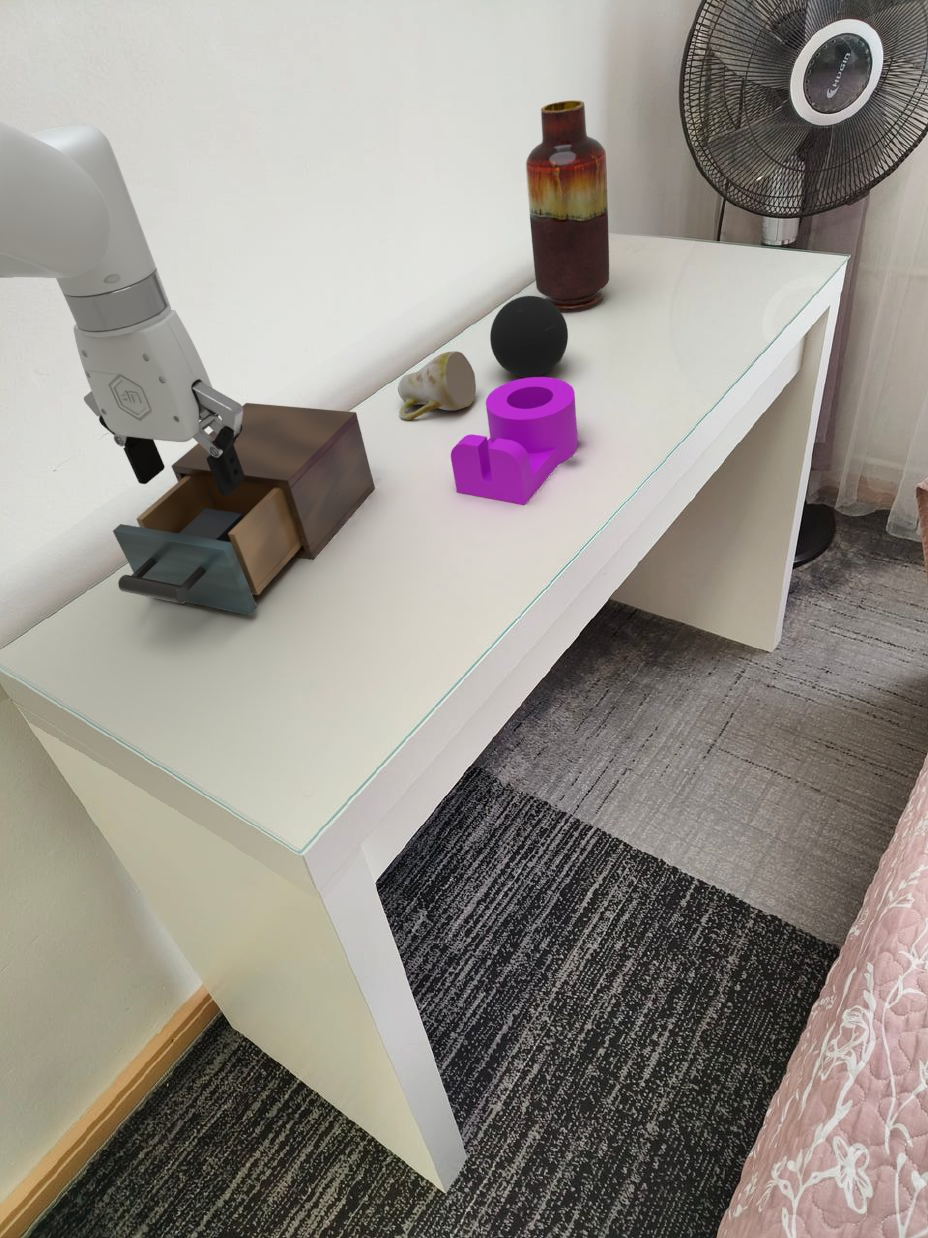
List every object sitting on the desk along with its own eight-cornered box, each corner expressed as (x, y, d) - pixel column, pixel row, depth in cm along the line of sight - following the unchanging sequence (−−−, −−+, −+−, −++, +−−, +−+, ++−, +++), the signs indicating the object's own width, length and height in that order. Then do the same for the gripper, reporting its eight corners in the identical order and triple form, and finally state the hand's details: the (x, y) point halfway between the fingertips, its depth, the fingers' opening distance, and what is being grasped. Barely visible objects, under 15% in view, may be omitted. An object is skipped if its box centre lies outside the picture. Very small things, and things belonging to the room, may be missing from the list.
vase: (542, 288, 134) (527, 100, 117) (612, 284, 132) (607, 91, 115) (532, 317, 127) (514, 120, 110) (607, 313, 124) (601, 110, 107)
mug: (409, 391, 114) (436, 325, 108) (466, 432, 112) (496, 366, 106) (378, 404, 108) (404, 335, 102) (437, 447, 107) (467, 379, 100)
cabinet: (313, 559, 88) (287, 480, 81) (202, 540, 93) (170, 465, 87) (375, 488, 96) (356, 411, 90) (270, 475, 102) (246, 402, 96)
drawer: (223, 646, 78) (193, 580, 73) (114, 621, 83) (79, 558, 78) (317, 538, 89) (297, 475, 84) (216, 523, 94) (192, 462, 89)
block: (230, 577, 84) (214, 540, 81) (193, 571, 86) (177, 534, 83) (256, 550, 87) (242, 513, 84) (220, 544, 88) (205, 507, 86)
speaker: (504, 357, 118) (496, 284, 111) (576, 355, 115) (572, 281, 108) (486, 391, 111) (476, 316, 104) (562, 390, 108) (556, 313, 101)
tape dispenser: (516, 420, 103) (510, 373, 99) (591, 431, 99) (588, 381, 95) (450, 490, 94) (441, 440, 90) (530, 506, 89) (525, 454, 85)
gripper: (10, 317, 70) (97, 493, 81) (172, 324, 63) (243, 515, 74) (74, 282, 75) (148, 453, 86) (230, 285, 68) (289, 470, 79)
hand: (192, 481), depth 80 cm, fingers open, 9 cm apart
